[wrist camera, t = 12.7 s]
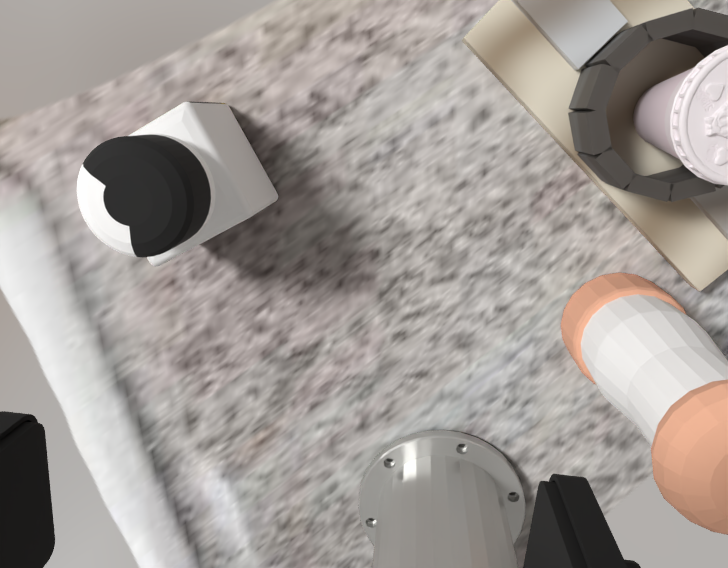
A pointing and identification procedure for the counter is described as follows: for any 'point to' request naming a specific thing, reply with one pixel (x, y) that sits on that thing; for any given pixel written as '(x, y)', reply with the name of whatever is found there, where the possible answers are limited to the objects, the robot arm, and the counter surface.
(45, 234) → the counter surface
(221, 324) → the counter surface
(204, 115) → the medicine bottle
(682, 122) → the smoothie
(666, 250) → the socket rail
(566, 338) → the pepper shaker
